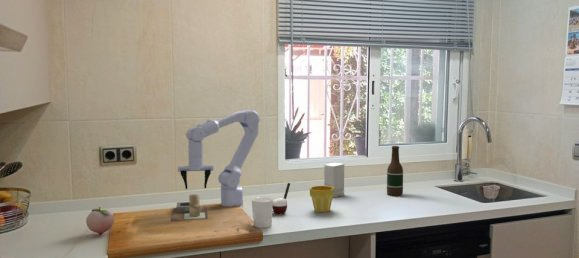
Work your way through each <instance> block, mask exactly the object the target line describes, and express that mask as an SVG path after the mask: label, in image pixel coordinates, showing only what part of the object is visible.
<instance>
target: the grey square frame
mask: <svg viewBox="0 0 579 258" xmlns="http://www.w3.org/2000/svg"><path fill="white" fill-rule="evenodd" d="M175 208H176V213H189V201H181V202H176V207H175Z"/></svg>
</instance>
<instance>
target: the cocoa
mask: <svg viewBox="0 0 579 258" xmlns="http://www.w3.org/2000/svg"><path fill="white" fill-rule="evenodd" d="M290 186H291V183H290V182H287V184H286V188H285V192H284V196H283V198H282V197H278V198H275V199H273V208H272V213H274V214H275V215H284V214H285V213H286V212H287V211H288V200H287V197H288V193H289V191H290Z"/></svg>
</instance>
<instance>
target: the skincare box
mask: <svg viewBox="0 0 579 258" xmlns="http://www.w3.org/2000/svg"><path fill="white" fill-rule="evenodd" d="M323 169H324V170H323V171H324V172H323V173H324V178H323V179H324V182H323V183H324V184H323V186H331V187H333V188H334V196H333V197H332V199H333V198H337V197H340V196H344V195H345V163H341V162H331V163H326V164H324V168H323Z"/></svg>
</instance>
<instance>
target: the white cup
mask: <svg viewBox="0 0 579 258" xmlns="http://www.w3.org/2000/svg"><path fill="white" fill-rule="evenodd" d="M273 201H274V198H271V197H269V196H267V197H266V196H260V197H253V198H252V199H251V209H252V220H253V227H255V228H260V229H266V228H270V227H271V226H272V222H273V221H272V220H273V212H272V211H273Z"/></svg>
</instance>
